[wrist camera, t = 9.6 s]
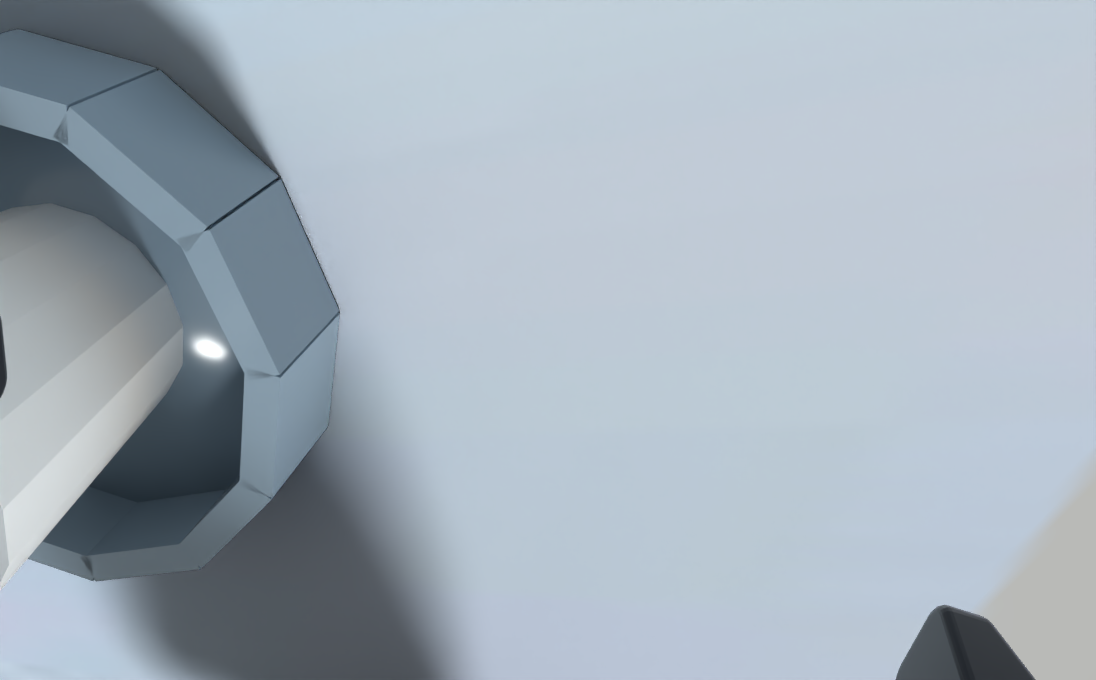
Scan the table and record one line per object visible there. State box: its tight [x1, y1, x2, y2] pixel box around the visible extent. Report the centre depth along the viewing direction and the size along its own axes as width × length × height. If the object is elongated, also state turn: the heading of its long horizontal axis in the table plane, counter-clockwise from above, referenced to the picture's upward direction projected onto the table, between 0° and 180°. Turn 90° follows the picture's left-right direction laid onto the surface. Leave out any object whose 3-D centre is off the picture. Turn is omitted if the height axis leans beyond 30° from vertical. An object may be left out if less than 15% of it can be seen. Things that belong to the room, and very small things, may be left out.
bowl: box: [0, 29, 340, 581], centre depth 23 cm, size 13×13×3 cm
